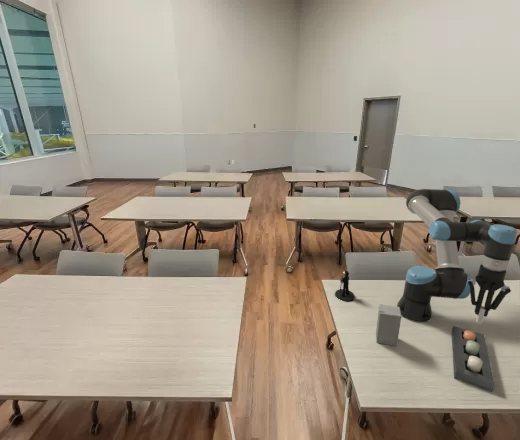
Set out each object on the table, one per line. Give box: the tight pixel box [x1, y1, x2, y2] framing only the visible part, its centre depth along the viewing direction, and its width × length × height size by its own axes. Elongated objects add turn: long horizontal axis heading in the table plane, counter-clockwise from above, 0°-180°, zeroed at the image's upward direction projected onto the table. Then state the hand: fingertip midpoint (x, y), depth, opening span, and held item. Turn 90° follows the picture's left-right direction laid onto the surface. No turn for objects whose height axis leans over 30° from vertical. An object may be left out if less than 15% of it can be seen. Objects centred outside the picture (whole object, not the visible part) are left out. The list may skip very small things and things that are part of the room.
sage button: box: [465, 340, 480, 355], centre depth 110 cm, size 4×4×4 cm
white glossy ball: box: [467, 356, 483, 372], centre depth 103 cm, size 4×4×4 cm
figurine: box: [334, 270, 355, 302], centre depth 150 cm, size 10×10×15 cm
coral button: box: [463, 329, 476, 341], centre depth 118 cm, size 4×4×4 cm
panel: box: [451, 325, 495, 393], centre depth 111 cm, size 11×28×4 cm, turn 149°
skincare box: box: [375, 303, 403, 347], centre depth 119 cm, size 8×7×16 cm
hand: (478, 321), depth 110 cm, fingers closed
